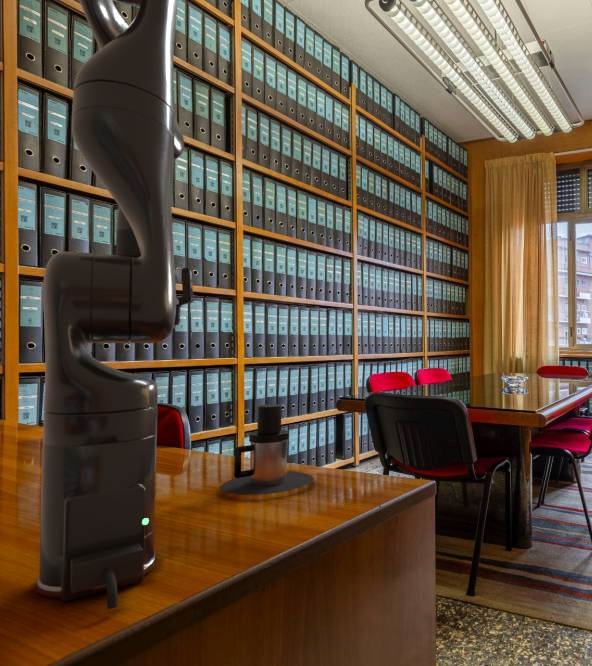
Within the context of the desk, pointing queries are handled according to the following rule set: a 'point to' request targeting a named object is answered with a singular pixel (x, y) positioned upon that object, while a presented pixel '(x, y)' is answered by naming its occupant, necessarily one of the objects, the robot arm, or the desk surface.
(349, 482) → the desk surface
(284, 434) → the steel travel mug
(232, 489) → the disc
